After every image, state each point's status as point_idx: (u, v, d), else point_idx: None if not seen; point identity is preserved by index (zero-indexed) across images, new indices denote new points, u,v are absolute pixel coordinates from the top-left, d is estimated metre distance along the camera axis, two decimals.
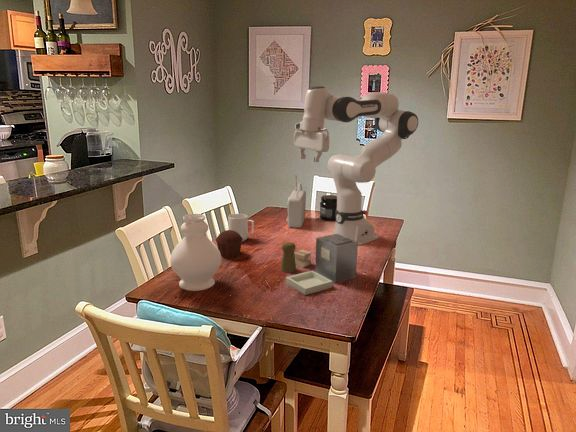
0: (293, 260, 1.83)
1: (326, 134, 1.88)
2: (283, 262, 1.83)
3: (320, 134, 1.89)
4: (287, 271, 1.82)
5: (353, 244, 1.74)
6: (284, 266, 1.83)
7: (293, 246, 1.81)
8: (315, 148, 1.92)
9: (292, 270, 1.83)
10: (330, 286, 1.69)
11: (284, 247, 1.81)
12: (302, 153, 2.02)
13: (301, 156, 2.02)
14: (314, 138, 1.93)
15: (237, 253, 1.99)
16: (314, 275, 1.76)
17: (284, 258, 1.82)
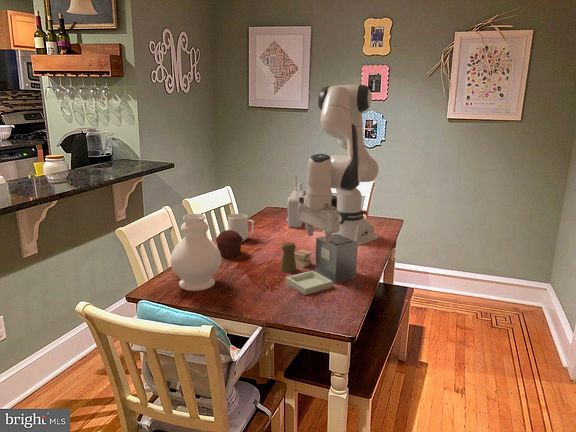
0: (293, 260, 1.83)
1: (335, 213, 1.60)
2: (283, 262, 1.83)
3: (328, 213, 1.61)
4: (287, 271, 1.82)
5: (353, 244, 1.74)
6: (284, 266, 1.83)
7: (293, 246, 1.81)
8: (324, 228, 1.65)
9: (292, 270, 1.83)
10: (330, 286, 1.69)
11: (284, 247, 1.81)
12: (309, 229, 1.75)
13: (308, 233, 1.74)
14: (321, 217, 1.65)
15: (237, 253, 1.99)
16: (314, 275, 1.76)
17: (284, 258, 1.82)
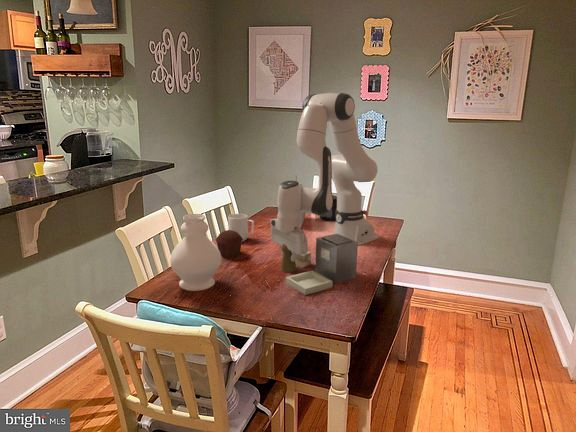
0: None
1: (303, 236, 1.73)
2: (283, 262, 1.83)
3: (297, 236, 1.74)
4: (287, 271, 1.82)
5: (353, 244, 1.74)
6: (284, 266, 1.83)
7: None
8: (293, 250, 1.77)
9: (292, 270, 1.83)
10: (330, 286, 1.69)
11: (284, 247, 1.81)
12: None
13: (282, 254, 1.86)
14: (291, 239, 1.78)
15: (237, 253, 1.99)
16: (314, 275, 1.76)
17: (284, 258, 1.82)
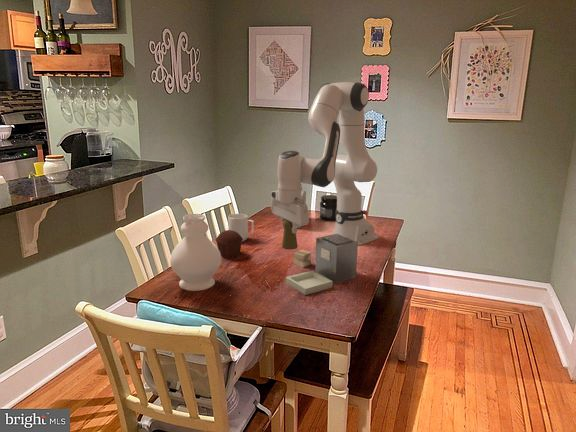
0: (294, 236, 1.81)
1: (304, 207, 1.70)
2: (284, 239, 1.81)
3: (297, 207, 1.71)
4: (289, 248, 1.80)
5: (353, 244, 1.74)
6: (285, 243, 1.80)
7: None
8: (294, 221, 1.74)
9: (294, 247, 1.81)
10: (330, 286, 1.69)
11: (285, 223, 1.79)
12: None
13: None
14: (292, 210, 1.75)
15: (237, 253, 1.99)
16: (314, 275, 1.76)
17: (285, 235, 1.80)
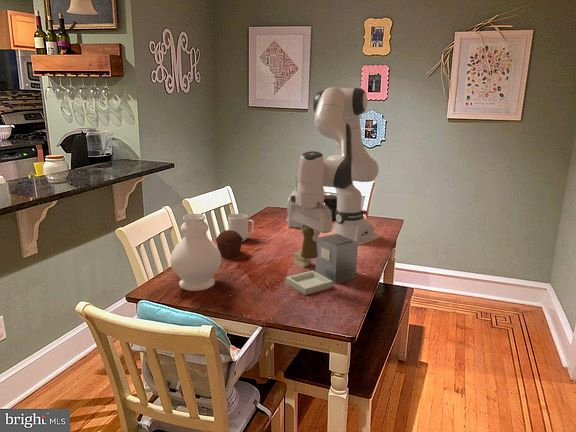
0: (315, 245, 1.66)
1: (327, 213, 1.56)
2: (304, 247, 1.66)
3: (320, 213, 1.57)
4: (308, 257, 1.66)
5: (353, 244, 1.74)
6: (305, 252, 1.66)
7: None
8: (316, 228, 1.60)
9: (314, 256, 1.66)
10: (330, 286, 1.69)
11: (305, 230, 1.64)
12: None
13: (303, 234, 1.68)
14: (313, 216, 1.61)
15: (237, 253, 1.99)
16: (314, 275, 1.76)
17: (305, 242, 1.65)
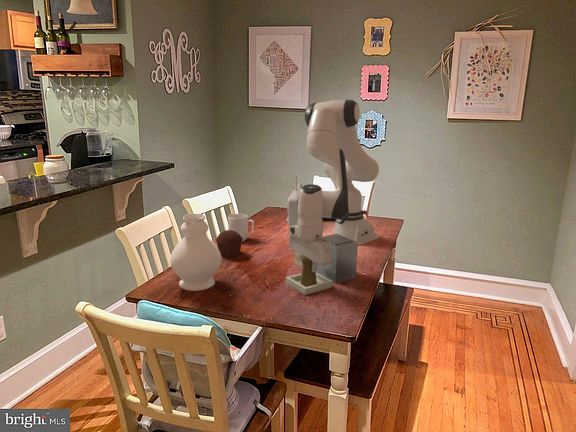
0: (314, 273, 1.69)
1: (326, 246, 1.59)
2: (303, 275, 1.69)
3: (319, 245, 1.60)
4: (307, 285, 1.68)
5: (353, 244, 1.74)
6: (304, 280, 1.69)
7: None
8: (314, 260, 1.63)
9: (313, 284, 1.69)
10: (330, 286, 1.69)
11: (304, 259, 1.67)
12: None
13: None
14: (312, 248, 1.64)
15: (237, 253, 1.99)
16: None
17: (304, 271, 1.68)
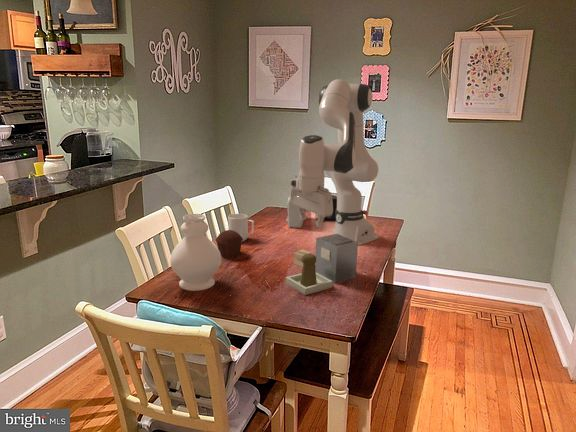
0: (314, 273, 1.69)
1: (328, 196, 1.56)
2: (303, 275, 1.69)
3: (321, 196, 1.57)
4: (307, 285, 1.68)
5: (353, 244, 1.74)
6: (304, 280, 1.69)
7: (314, 258, 1.67)
8: (316, 211, 1.60)
9: (313, 284, 1.69)
10: (330, 286, 1.69)
11: (304, 259, 1.67)
12: (302, 213, 1.71)
13: (301, 217, 1.70)
14: (314, 200, 1.61)
15: (237, 253, 1.99)
16: None
17: (304, 271, 1.68)
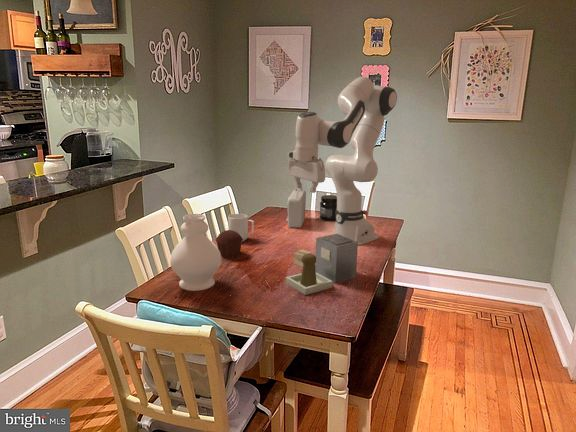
0: (314, 273, 1.69)
1: (321, 164, 1.78)
2: (303, 275, 1.69)
3: (315, 164, 1.79)
4: (307, 285, 1.68)
5: (353, 244, 1.74)
6: (304, 280, 1.69)
7: (314, 258, 1.67)
8: (311, 179, 1.82)
9: (313, 284, 1.69)
10: (330, 286, 1.69)
11: (304, 259, 1.67)
12: (298, 182, 1.92)
13: (297, 185, 1.92)
14: (308, 168, 1.82)
15: (237, 253, 1.99)
16: None
17: (304, 271, 1.68)
